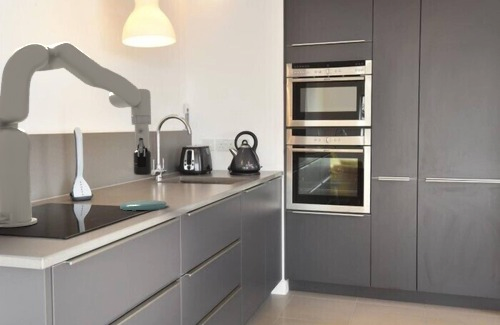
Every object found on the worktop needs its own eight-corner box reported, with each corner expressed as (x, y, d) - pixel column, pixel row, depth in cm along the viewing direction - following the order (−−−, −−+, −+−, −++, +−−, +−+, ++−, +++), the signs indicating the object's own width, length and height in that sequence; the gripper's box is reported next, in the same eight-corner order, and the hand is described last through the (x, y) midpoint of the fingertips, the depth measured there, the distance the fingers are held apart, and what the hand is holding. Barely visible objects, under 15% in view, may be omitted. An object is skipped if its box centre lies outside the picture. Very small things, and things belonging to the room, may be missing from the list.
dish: (150, 211, 187) (150, 207, 187) (110, 209, 194) (110, 205, 194) (175, 205, 204) (175, 201, 204) (137, 203, 210) (137, 199, 210)
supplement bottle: (134, 175, 194) (133, 144, 193) (133, 173, 200) (132, 143, 200) (152, 174, 196) (151, 143, 195) (150, 173, 202) (150, 143, 201)
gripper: (150, 120, 189) (151, 167, 190) (152, 121, 206) (153, 164, 207) (129, 120, 188) (130, 168, 189) (133, 121, 205) (134, 165, 206)
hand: (142, 166), depth 198 cm, fingers closed on supplement bottle, 6 cm apart
